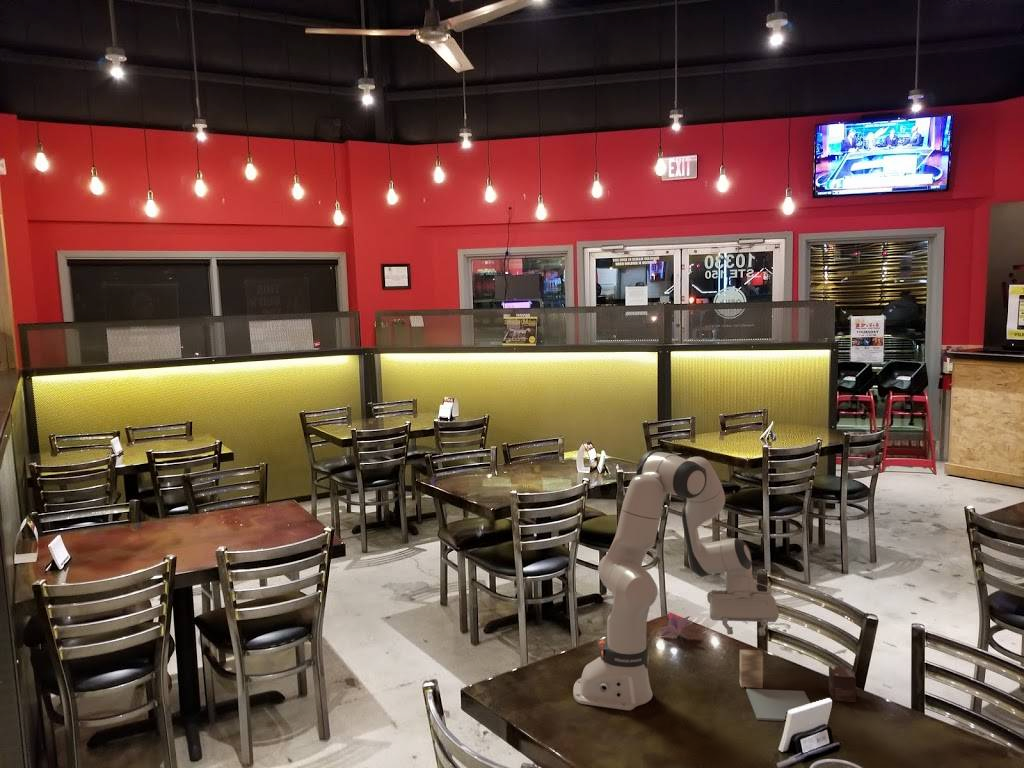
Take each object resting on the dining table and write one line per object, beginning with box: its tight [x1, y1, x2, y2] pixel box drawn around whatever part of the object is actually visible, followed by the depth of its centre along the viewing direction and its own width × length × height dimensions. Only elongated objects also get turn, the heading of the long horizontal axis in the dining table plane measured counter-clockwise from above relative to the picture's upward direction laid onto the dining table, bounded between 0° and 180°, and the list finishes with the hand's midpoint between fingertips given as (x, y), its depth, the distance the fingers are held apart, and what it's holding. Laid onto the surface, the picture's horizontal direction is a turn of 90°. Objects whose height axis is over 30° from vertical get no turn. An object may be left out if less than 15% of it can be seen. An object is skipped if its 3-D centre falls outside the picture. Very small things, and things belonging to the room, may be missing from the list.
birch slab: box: [738, 649, 764, 689], centre depth 218 cm, size 6×3×10 cm, turn 83°
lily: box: [659, 615, 694, 645], centre depth 250 cm, size 12×12×10 cm
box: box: [828, 666, 857, 703], centre depth 211 cm, size 6×6×7 cm
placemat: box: [745, 688, 811, 722], centre depth 207 cm, size 16×16×1 cm
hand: (746, 634), depth 225 cm, fingers open, 8 cm apart
